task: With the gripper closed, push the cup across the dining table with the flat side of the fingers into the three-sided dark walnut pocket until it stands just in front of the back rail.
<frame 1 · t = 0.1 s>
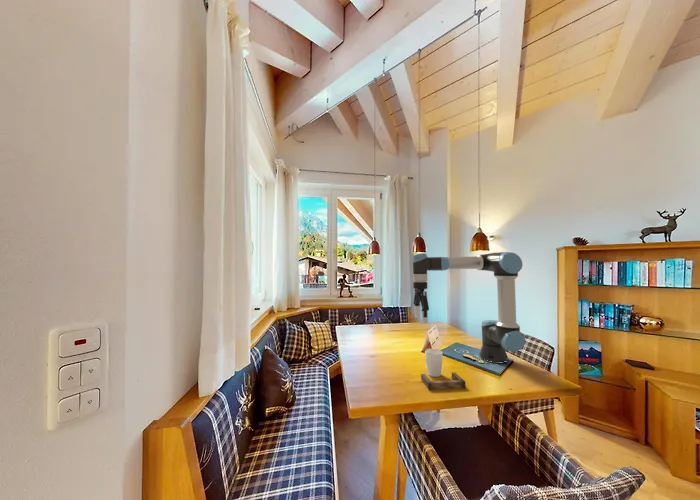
hand: (421, 320, 141), 28 cm above the table, fingers open, 13 cm apart
cup: (434, 374, 136), on the table
walnut pocket: (443, 384, 125), on the table
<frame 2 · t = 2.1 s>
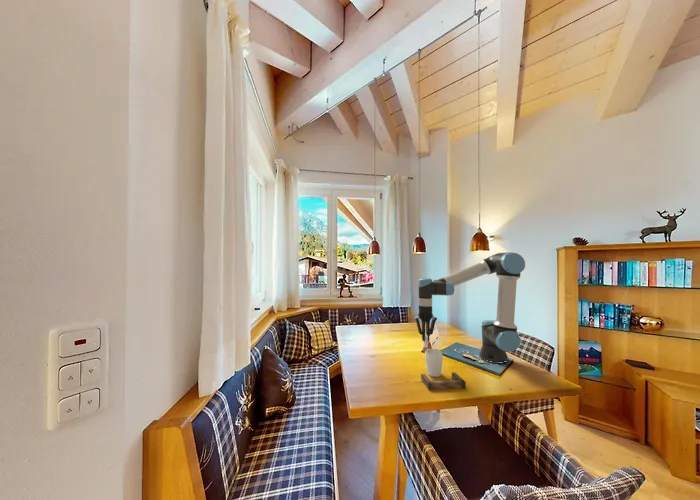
hand: (425, 346, 147), 11 cm above the table, fingers closed
nothing on the table moved.
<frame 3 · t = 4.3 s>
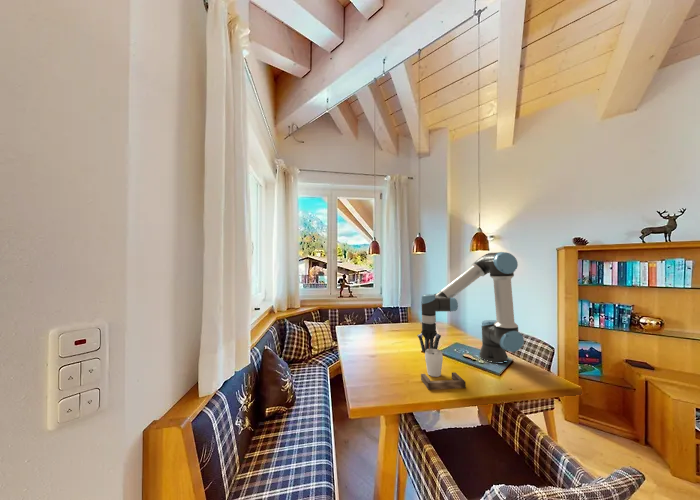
hand: (429, 365, 142), 3 cm above the table, fingers closed
cup: (434, 374, 136), on the table, touching gripper
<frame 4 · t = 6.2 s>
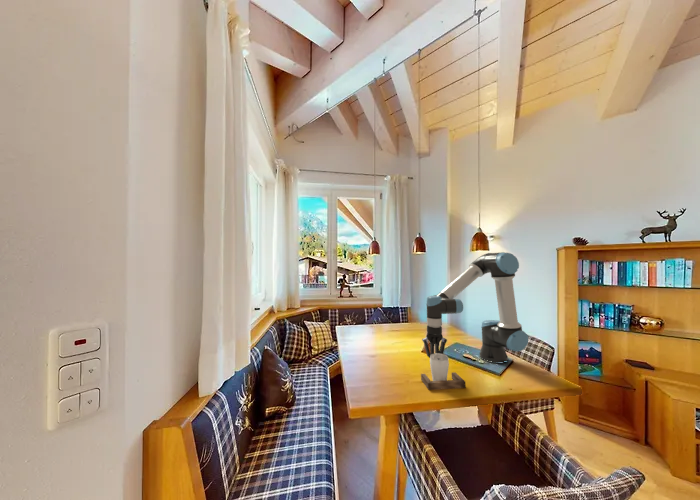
hand: (434, 370, 134), 3 cm above the table, fingers closed
cup: (439, 380, 129), on the table, touching gripper
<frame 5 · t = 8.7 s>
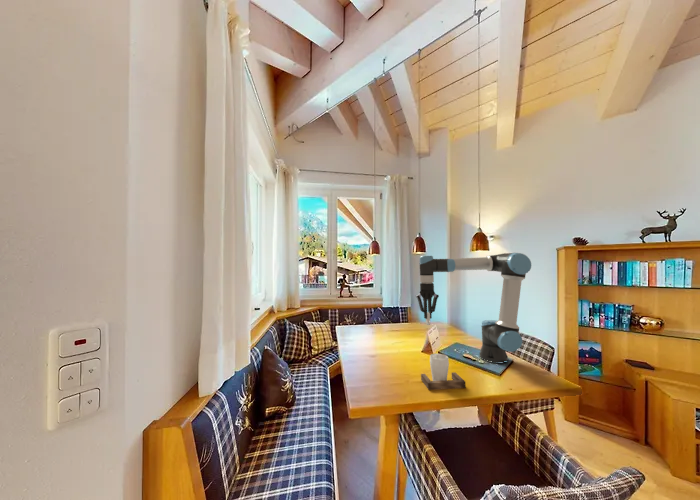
hand: (428, 324, 145), 24 cm above the table, fingers closed
cup: (439, 381, 129), on the table
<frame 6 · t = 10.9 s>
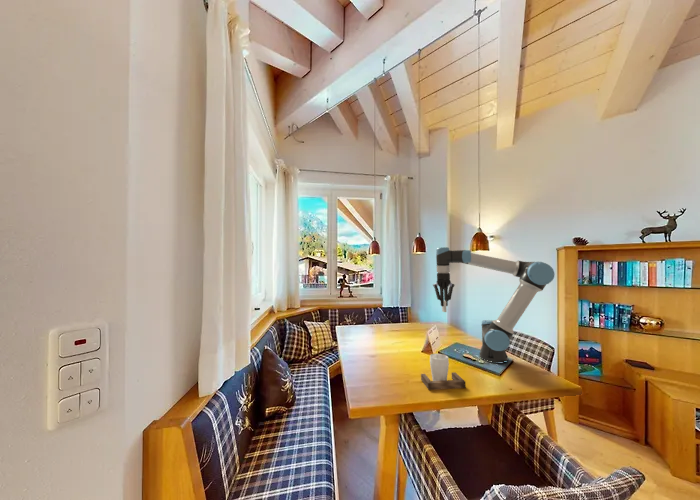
hand: (444, 311, 155), 29 cm above the table, fingers closed
nothing on the table moved.
at the end: cup inside the target area (1.9 cm from its centre), on the table; cup tilted 0° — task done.
